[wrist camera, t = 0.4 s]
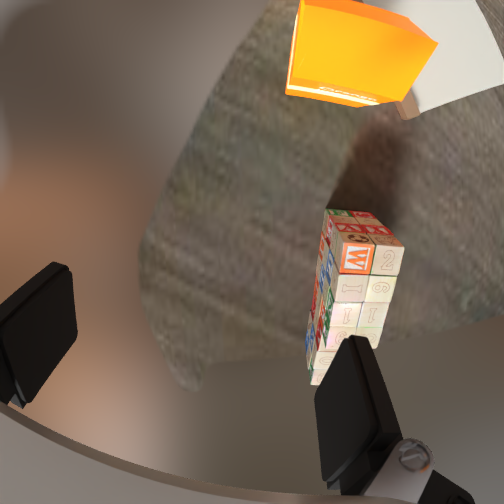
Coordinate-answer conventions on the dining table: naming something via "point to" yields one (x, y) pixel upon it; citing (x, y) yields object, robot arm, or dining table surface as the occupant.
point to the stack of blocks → (350, 285)
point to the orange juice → (354, 53)
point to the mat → (448, 52)
